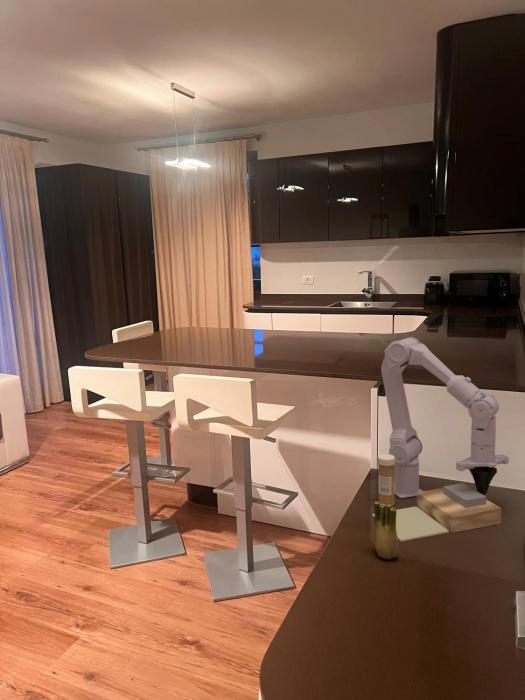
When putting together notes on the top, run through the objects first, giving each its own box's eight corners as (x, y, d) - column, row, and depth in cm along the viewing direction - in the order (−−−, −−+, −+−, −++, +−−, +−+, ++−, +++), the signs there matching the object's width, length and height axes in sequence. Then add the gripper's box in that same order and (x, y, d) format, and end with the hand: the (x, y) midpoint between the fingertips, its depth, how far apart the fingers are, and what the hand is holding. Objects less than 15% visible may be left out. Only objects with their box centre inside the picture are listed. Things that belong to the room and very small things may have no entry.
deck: (416, 506, 135) (416, 492, 134) (461, 498, 139) (461, 485, 138) (452, 533, 121) (452, 517, 120) (500, 523, 124) (501, 508, 124)
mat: (372, 515, 131) (372, 514, 131) (416, 507, 134) (416, 506, 134) (400, 541, 117) (400, 540, 117) (448, 532, 121) (449, 530, 121)
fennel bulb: (371, 550, 114) (370, 500, 113) (391, 547, 115) (391, 497, 114) (381, 564, 109) (381, 511, 107) (402, 561, 110) (402, 508, 108)
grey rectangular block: (443, 493, 133) (443, 486, 133) (462, 490, 135) (462, 483, 134) (465, 508, 124) (465, 500, 124) (486, 504, 126) (486, 496, 126)
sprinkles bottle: (398, 503, 137) (398, 455, 135) (389, 508, 134) (389, 460, 132) (383, 498, 141) (383, 452, 139) (374, 503, 138) (374, 456, 136)
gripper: (469, 451, 123) (468, 503, 125) (518, 444, 127) (516, 495, 129) (451, 442, 130) (450, 492, 132) (498, 436, 134) (496, 484, 136)
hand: (481, 493), depth 131 cm, fingers closed
